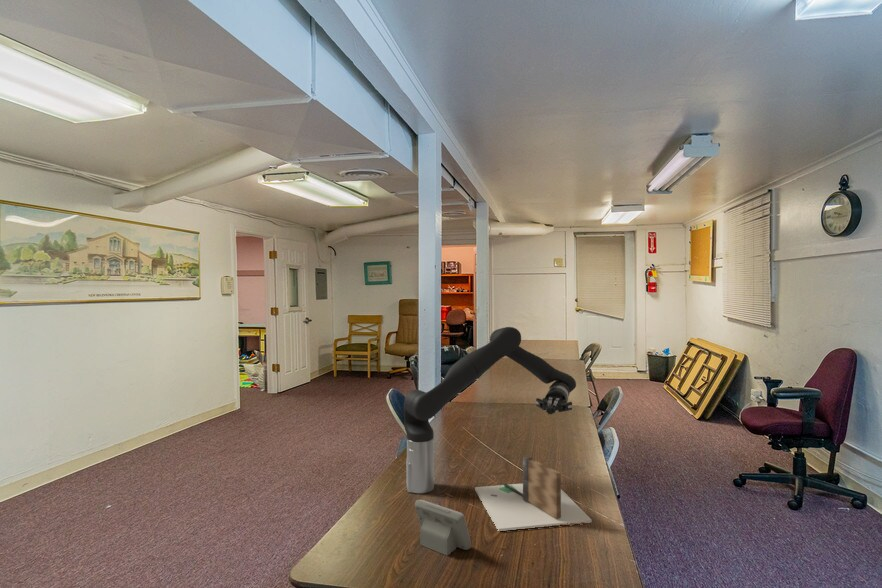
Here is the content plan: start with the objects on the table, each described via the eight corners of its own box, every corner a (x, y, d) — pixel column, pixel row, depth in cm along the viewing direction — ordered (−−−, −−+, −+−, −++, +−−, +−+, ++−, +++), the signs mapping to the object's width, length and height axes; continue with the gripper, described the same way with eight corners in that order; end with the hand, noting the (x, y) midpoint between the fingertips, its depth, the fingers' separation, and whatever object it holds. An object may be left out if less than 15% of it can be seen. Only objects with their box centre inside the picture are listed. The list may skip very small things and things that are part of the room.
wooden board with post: (501, 486, 159) (501, 448, 158) (508, 484, 160) (508, 446, 160) (554, 519, 136) (554, 474, 136) (562, 516, 137) (562, 472, 137)
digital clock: (474, 550, 123) (474, 509, 123) (449, 564, 117) (449, 521, 117) (433, 527, 135) (433, 490, 135) (409, 538, 129) (409, 500, 129)
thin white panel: (498, 532, 132) (498, 528, 132) (475, 490, 159) (475, 486, 159) (591, 523, 136) (591, 519, 136) (553, 483, 164) (553, 480, 164)
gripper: (539, 385, 173) (530, 398, 157) (576, 389, 169) (571, 402, 152) (538, 405, 174) (529, 419, 158) (575, 409, 169) (570, 425, 153)
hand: (550, 411), depth 155 cm, fingers closed
